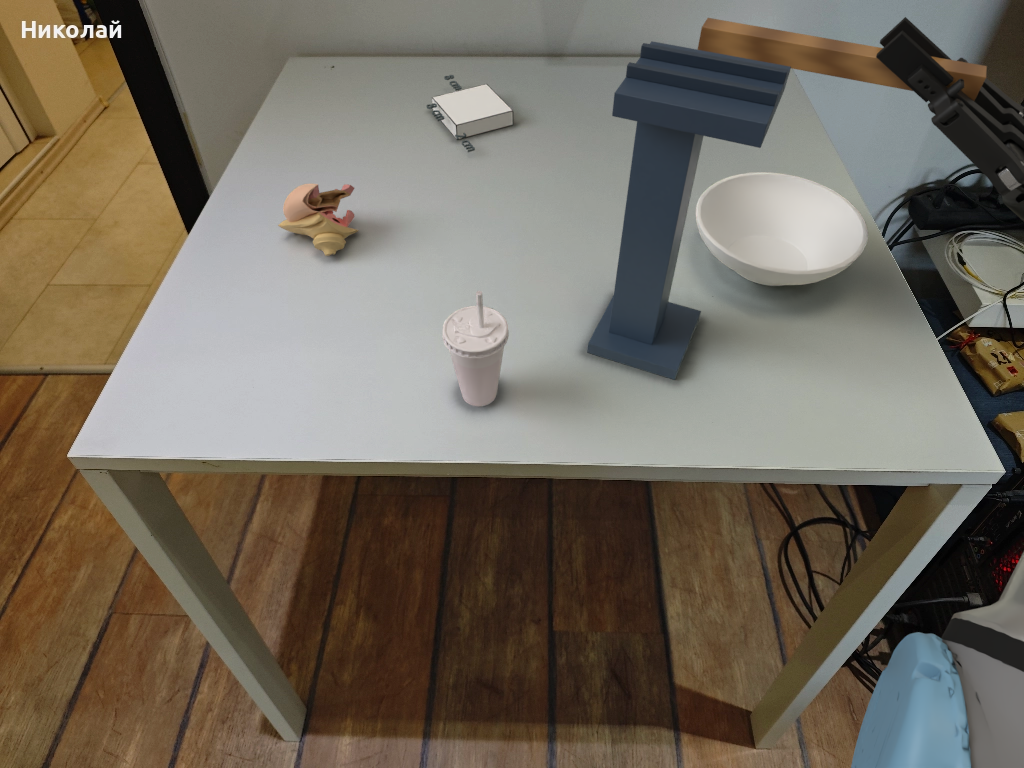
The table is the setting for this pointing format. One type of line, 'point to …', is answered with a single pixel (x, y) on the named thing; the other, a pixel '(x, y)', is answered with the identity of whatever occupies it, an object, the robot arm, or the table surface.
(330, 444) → the table surface
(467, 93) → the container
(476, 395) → the smoothie
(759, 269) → the bowl
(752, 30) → the stirring stick
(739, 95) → the lectern stand
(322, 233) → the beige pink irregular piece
